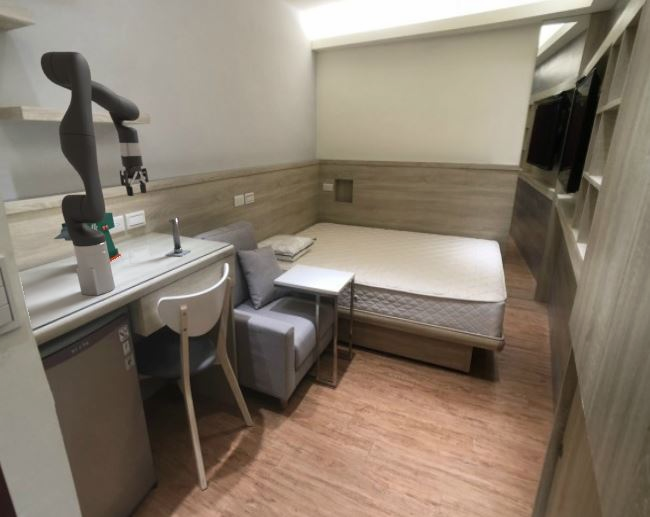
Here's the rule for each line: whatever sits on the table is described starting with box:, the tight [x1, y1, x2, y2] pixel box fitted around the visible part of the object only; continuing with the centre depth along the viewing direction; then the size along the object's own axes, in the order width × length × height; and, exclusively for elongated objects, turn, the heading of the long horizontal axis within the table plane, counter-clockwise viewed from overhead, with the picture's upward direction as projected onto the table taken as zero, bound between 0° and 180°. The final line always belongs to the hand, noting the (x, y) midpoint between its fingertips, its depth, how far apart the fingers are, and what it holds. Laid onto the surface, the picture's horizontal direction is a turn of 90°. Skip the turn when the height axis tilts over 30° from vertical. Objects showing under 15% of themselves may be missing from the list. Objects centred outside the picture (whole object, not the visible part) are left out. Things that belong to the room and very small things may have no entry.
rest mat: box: [164, 249, 192, 257], centre depth 161 cm, size 8×8×1 cm
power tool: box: [53, 212, 122, 263], centre depth 139 cm, size 32×7×20 cm, turn 0°
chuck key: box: [168, 216, 183, 254], centre depth 159 cm, size 7×4×16 cm, turn 172°
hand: (137, 194), depth 147 cm, fingers open, 8 cm apart
